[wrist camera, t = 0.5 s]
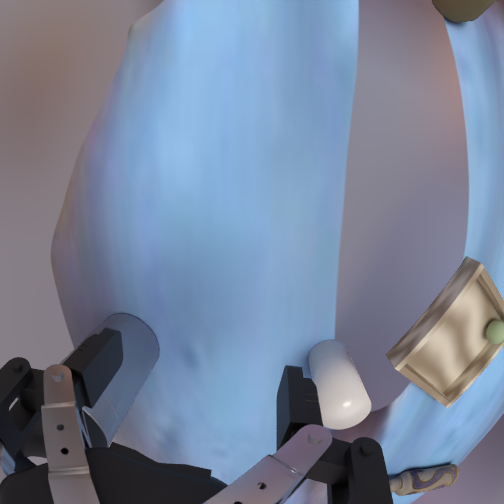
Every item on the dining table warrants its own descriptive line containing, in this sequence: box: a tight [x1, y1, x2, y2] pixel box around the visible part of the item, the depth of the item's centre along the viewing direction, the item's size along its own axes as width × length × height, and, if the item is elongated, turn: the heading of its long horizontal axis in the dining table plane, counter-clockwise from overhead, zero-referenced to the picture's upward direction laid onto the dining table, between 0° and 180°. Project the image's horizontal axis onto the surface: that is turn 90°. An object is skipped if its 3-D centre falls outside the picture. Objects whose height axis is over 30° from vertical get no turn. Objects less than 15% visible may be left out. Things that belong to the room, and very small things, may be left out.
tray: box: [386, 257, 504, 408], centre depth 33 cm, size 18×18×4 cm
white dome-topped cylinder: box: [308, 340, 371, 429], centre depth 30 cm, size 5×5×11 cm
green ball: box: [486, 320, 504, 344], centre depth 31 cm, size 4×4×4 cm
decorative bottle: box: [389, 464, 459, 496], centre depth 40 cm, size 26×8×7 cm, turn 73°
